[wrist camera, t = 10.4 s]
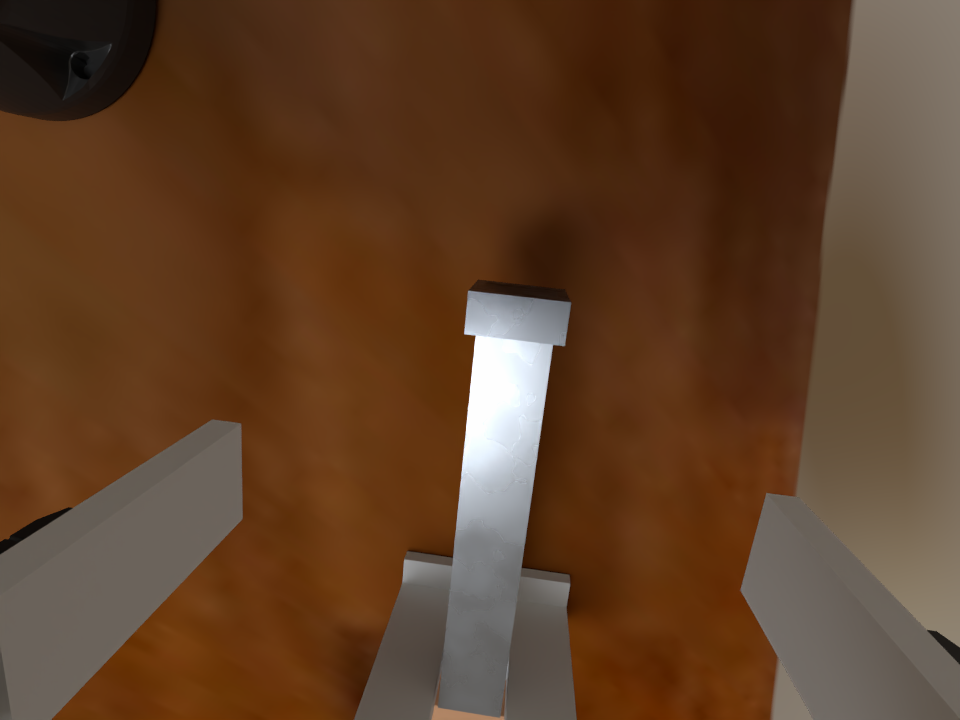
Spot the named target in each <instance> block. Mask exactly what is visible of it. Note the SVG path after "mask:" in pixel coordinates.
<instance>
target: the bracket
mask: <svg viewBox="0 0 960 720" xmlns="http://www.w3.org/2000/svg"><path fill="white" fill-rule="evenodd" d="M452 564H453V558H451V557H444V556H437V555H430V554H424V553H417V552H410V551H407V553H406V556H405V559H404V570H403V583H402V586H401V589H400V591H399V594H398V597H397V600H396V603H395V606H394V608H393V611H392V614H391V617H390V620H389V623H388V625H387V628H386V631H385V634H384V637H383V639H382V642H381V645H380V648H379V651H378V654H377V656H376V659H375V662H374V665H373V668H372V671H371V673H370V676H369V679H368V682H367V685H366V688H365V690H364V693H363V696H362V699H361V702H360V705H359V707H358V710H357V713H356V716H355V719H354V720H432V715H433V710H434V705H435V700H436V695H437V690H438V685H439V680H440V675H441V670H442V661H443V652H444V642H445V632H446V622H447V613H448V603H449V593H450V583H451V574H452ZM569 589H570V575H568V574H561V573H554V572H547V571H540V570H533V569H526V568H521V575H520V582H519V589H518V596H517V603H516V610H515V617H514V624H513V631H512V638H511V645H510V653H509V660H508V667H507V674H506V692H505V710H504V720H577V718H576V707H575V697H574V686H573V675H572V664H571V653H570V642H569V631H568V620H567V609H566V607H567V601H568V595H569Z"/></svg>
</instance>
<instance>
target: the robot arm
mask: <svg viewBox="0 0 960 720" xmlns="http://www.w3.org/2000/svg"><path fill="white" fill-rule="evenodd" d="M155 10H156V0H0V110H1V111H4V112H8V113H12V114H17V115H22V116H27V117H32V118H36V119H42V120H49V121H67V120H74V119H79V118H83V117H86V116H89V115H92V114H94V113H96V112H98V111H100V110H102V109H104V108H105V107H107V106H109V105H110V104H111V103H113V102H114V101H115V100H116V99H118V98H119V97H120V96H121V95H122V94H123V93H124V92H125V91H126V89H127V88H128V87H129V86H130V85H131V83H132V82H133V80H134V79H135V77H136V76H137V74H138V73H139V71H140V69H141V67H142V65H143V63H144V60H145V58H146V56H147V53H148V50H149V47H150V43H151V39H152V35H153V29H154V22H155ZM242 519H243V517H242V451H241V423H234V422H226V421H219V420H211V421H209V422H208V423H206V424H205V425H203V426H202V427H200V428H198V429H197V430H195V431H194V432H192V433H191V434H189V435H187V436H186V437H184V438H183V439H181V440H180V441H178V442H176V443H175V444H173V445H172V446H170V447H169V448H167V449H165V450H164V451H162V452H161V453H159V454H158V455H156V456H154V457H153V458H151V459H150V460H148V461H147V462H145V463H143V464H142V465H140V466H139V467H137V468H136V469H134V470H132V471H131V472H129V473H128V474H126V475H125V476H123V477H121V478H120V479H118V480H117V481H115V482H114V483H112V484H110V485H109V486H107V487H106V488H104V489H103V490H101V491H99V492H98V493H96V494H95V495H93V496H92V497H90V498H88V499H87V500H85V501H84V502H82V503H81V504H79V505H77V506H76V507H74V508H69V507H68V508H66V509H63V510H61V511H58V512H55V513H53V514H50V515H48V516H45V517H42V518H40V519H37V520H35V521H34V522H32V523H30V524H29V525H27V526H26V527H24V528H22V529H21V530H19V531H17V532H16V533H14V534H12V535H11V536H10V538H9V539H8V540H7V539H4V540H3V541H1V542H0V720H51V719H52V718H53V717H54V716H55V715H56V714H57V713H58V712H59V711H60V710H61V709H62V708H63V707H64V705H65V704H66V703H67V702H68V701H69V700H70V699H71V698H72V697H73V696H74V695H75V694H76V693H77V692H78V691H79V690H80V689H81V688H82V687H83V686H84V685H85V683H86V682H87V681H88V680H89V679H90V678H91V677H92V676H93V675H94V674H95V673H96V672H97V671H98V670H99V669H100V668H101V667H102V666H103V665H104V664H105V662H106V661H107V660H108V659H109V658H110V657H111V656H112V655H113V654H114V653H115V652H116V651H117V650H118V649H119V648H120V647H121V646H122V645H123V644H124V643H125V642H126V640H127V639H128V638H129V637H130V636H131V635H132V634H133V633H134V632H135V631H136V630H137V629H138V628H139V627H140V626H141V625H142V624H143V623H144V622H145V621H146V619H147V618H148V617H149V616H150V615H151V614H152V613H153V612H154V611H155V610H156V609H157V608H158V607H159V606H160V605H161V604H162V603H163V602H164V601H165V600H166V599H167V597H168V596H169V595H170V594H171V593H172V592H173V591H174V590H175V589H176V588H177V587H178V586H179V585H180V584H181V583H182V582H183V581H184V580H185V579H186V578H187V577H188V575H189V574H190V573H191V572H192V571H193V570H194V569H195V568H196V567H197V566H198V565H199V564H200V563H201V562H202V561H203V560H204V559H205V558H206V557H207V556H208V554H209V553H210V552H211V551H212V550H213V549H214V548H215V547H216V546H217V545H218V544H219V543H220V542H221V541H222V540H223V539H224V538H225V537H226V536H227V535H228V534H229V532H230V531H231V530H232V529H233V528H234V527H235V526H236V525H237V524H238V523H239V522H240V521H241V520H242ZM741 592H742V594H743V596H744V597H745V599H746V601H747V603H748V604H749V606H750V608H751V610H752V611H753V613H754V615H755V617H756V619H757V620H758V622H759V624H760V626H761V627H762V629H763V631H764V633H765V635H766V636H767V638H768V640H769V642H770V643H771V645H772V647H773V649H774V650H775V652H776V654H777V656H778V658H779V659H780V661H781V663H782V665H783V666H784V668H785V670H786V672H787V673H788V675H789V677H790V679H791V681H792V682H793V684H794V686H795V688H796V689H797V691H798V693H799V695H800V696H801V698H802V700H803V702H804V703H805V705H806V707H807V709H808V711H809V712H810V714H811V716H812V718H813V719H814V720H960V647H958V646H957V645H955V644H954V643H952V642H951V641H950V640H948V639H947V638H945V637H944V636H942V635H941V634H940V633H938V632H937V631H930V630H926V629H925V628H924V627H923V626H922V625H921V624H920V623H919V622H918V621H917V620H916V619H915V618H914V617H913V615H912V614H911V613H910V612H909V611H908V610H907V609H906V608H905V607H904V606H903V605H902V604H901V603H900V602H899V601H898V600H897V599H896V598H895V597H894V596H893V595H892V594H891V593H890V592H889V591H888V590H887V589H886V587H885V586H884V585H882V583H881V582H880V581H879V580H878V579H877V578H876V577H875V576H874V575H873V574H872V573H871V572H870V571H869V570H868V569H867V568H866V567H865V566H864V564H862V563H861V561H860V560H859V559H858V558H857V557H856V556H855V555H854V554H853V553H852V552H851V551H850V550H849V549H848V548H847V547H846V546H845V545H844V544H843V543H842V542H841V541H840V540H839V538H838V537H837V536H836V535H835V534H834V533H833V532H832V531H831V530H830V529H829V528H828V527H827V526H826V525H825V524H824V523H823V522H822V521H821V520H820V519H819V518H818V517H817V516H816V515H815V513H814V512H813V511H811V509H810V508H809V507H808V506H807V505H806V504H805V503H804V502H803V501H802V500H801V499H800V498H799V497H792V496H784V495H777V494H769V493H766V497H765V501H764V504H763V508H762V512H761V516H760V519H759V523H758V527H757V531H756V534H755V538H754V542H753V545H752V549H751V553H750V557H749V560H748V564H747V568H746V572H745V575H744V579H743V583H742V587H741Z"/></svg>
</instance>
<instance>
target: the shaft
mask: <svg viewBox="0 0 960 720" xmlns="http://www.w3.org/2000/svg"><path fill="white" fill-rule="evenodd" d="M570 307H571V301H570V299H569V297H568V295H567V293H566V291H565V289H556V288H547V287H539V286H530V285H521V284H512V283H503V282H495V281H486V280H477V282H476V283H475V284H474V285H473V286H472V287H471V288H470V290H469V291H468V301H467V311H466V322H465V332H464V334H468V335H476V340H475V349H474V359H473V369H472V379H471V388H470V398H469V408H468V418H467V427H466V437H465V447H464V457H463V466H462V476H461V486H460V496H459V505H458V515H457V525H456V535H455V544H454V554H453V564H452V574H451V583H450V593H449V603H448V613H447V622H446V632H445V642H444V652H443V661H442V671H441V681H440V690H439V700H438V708H442V709H449V710H455V711H461V712H467V713H473V714H479V715H485V716H491V717H498V718H500V716H501V709H502V702H503V695H504V688H505V681H506V674H507V667H508V660H509V653H510V645H511V638H512V631H513V624H514V617H515V610H516V603H517V596H518V589H519V582H520V575H521V568H522V560H523V553H524V546H525V539H526V532H527V525H528V518H529V511H530V504H531V497H532V490H533V483H534V475H535V468H536V461H537V454H538V447H539V440H540V433H541V426H542V419H543V412H544V405H545V398H546V390H547V383H548V376H549V369H550V362H551V355H552V348H553V345H560V346H565V341H566V334H567V327H568V321H569V314H570Z"/></svg>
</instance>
